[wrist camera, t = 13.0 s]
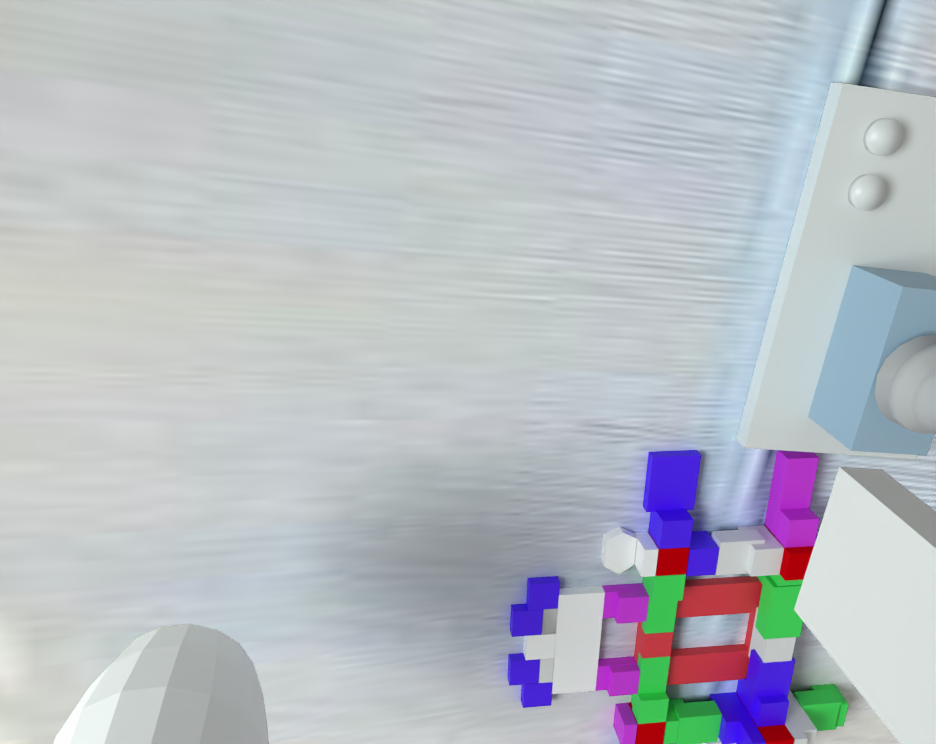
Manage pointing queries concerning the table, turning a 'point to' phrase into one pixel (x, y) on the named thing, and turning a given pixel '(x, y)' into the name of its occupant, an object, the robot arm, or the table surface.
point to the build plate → (842, 250)
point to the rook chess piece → (909, 385)
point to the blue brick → (872, 357)
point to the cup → (173, 694)
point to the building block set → (671, 596)
